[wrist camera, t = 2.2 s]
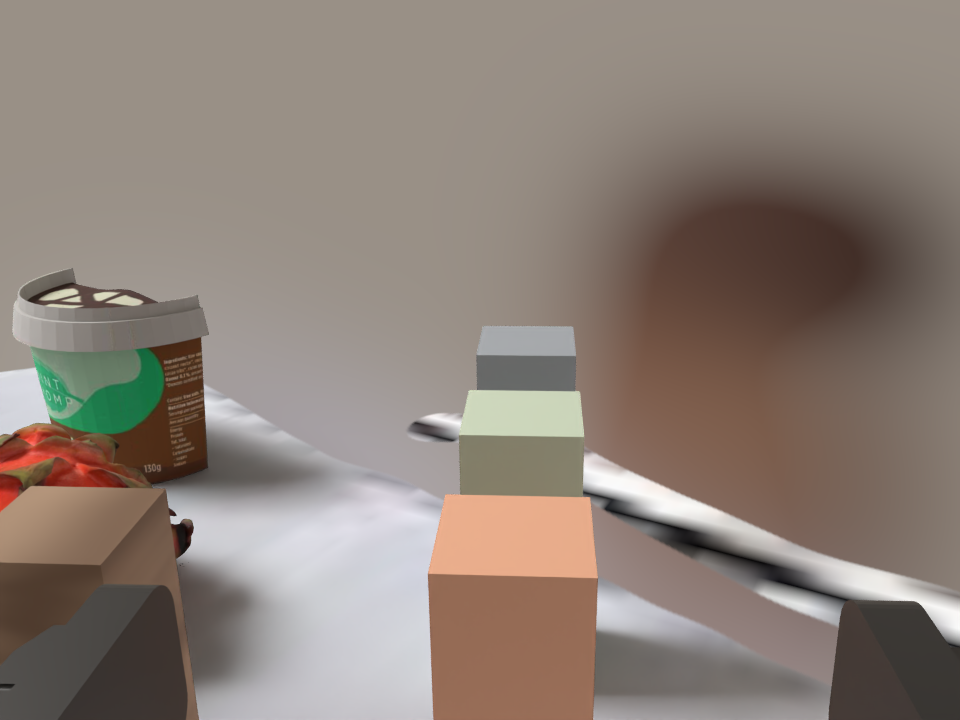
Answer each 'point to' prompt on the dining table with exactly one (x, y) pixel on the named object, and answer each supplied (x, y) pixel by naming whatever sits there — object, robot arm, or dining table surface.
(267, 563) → the dining table surface
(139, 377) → the food container
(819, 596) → the dining table surface
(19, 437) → the dragon fruit
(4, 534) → the walnut block
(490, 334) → the slate block
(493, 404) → the sage block
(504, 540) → the terracotta block
